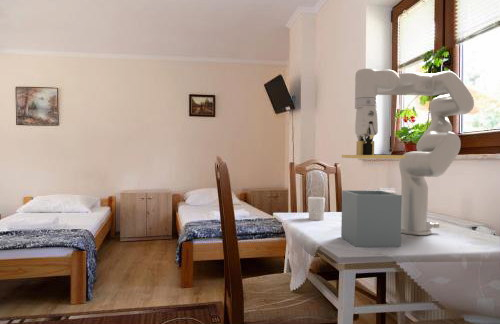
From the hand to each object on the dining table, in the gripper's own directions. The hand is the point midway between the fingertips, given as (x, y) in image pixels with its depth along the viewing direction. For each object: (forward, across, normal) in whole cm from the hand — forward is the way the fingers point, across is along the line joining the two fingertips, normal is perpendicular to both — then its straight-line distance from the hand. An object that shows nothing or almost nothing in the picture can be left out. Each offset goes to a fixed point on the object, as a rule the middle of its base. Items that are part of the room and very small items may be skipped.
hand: (364, 154), depth 136 cm
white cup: (+30, +39, +7) cm, 50 cm away
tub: (+30, -6, 0) cm, 31 cm away
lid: (+1, -6, 0) cm, 6 cm away
